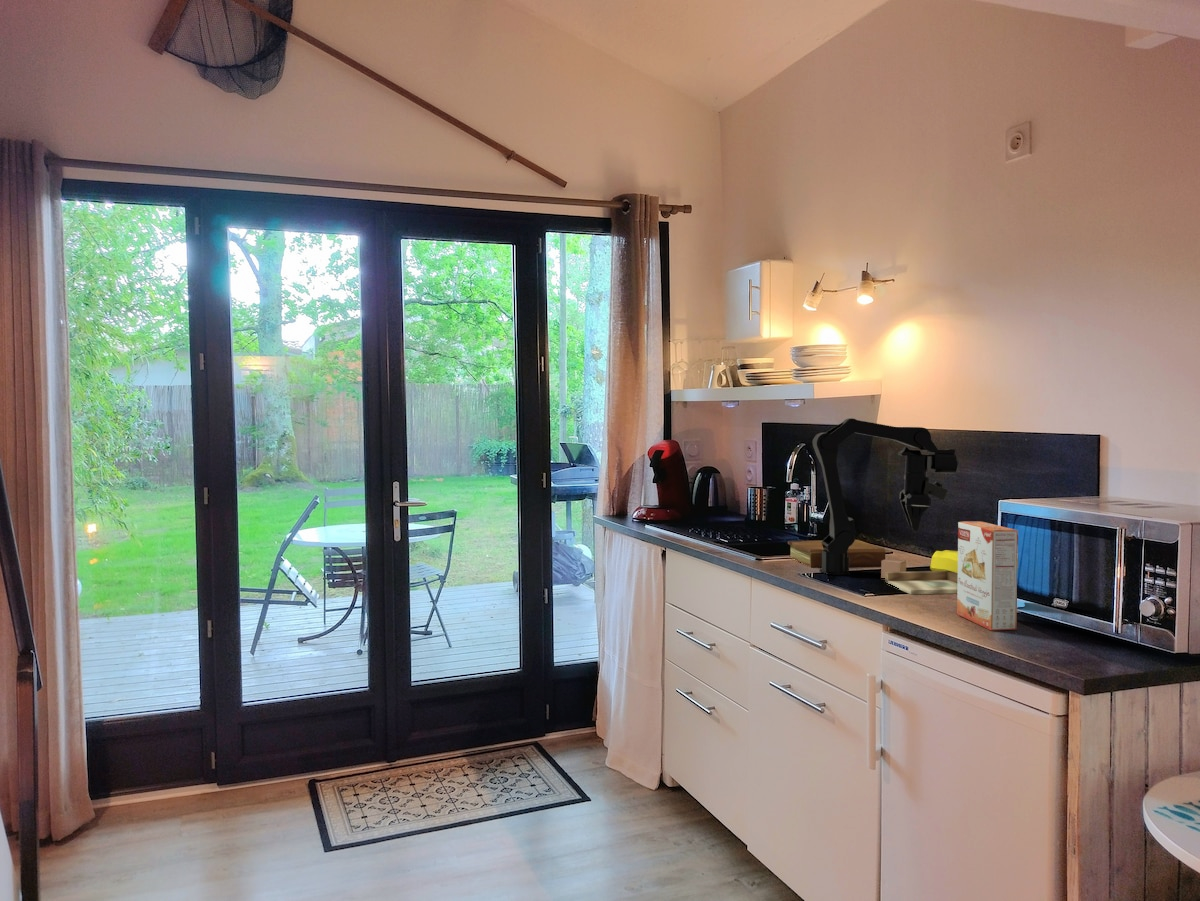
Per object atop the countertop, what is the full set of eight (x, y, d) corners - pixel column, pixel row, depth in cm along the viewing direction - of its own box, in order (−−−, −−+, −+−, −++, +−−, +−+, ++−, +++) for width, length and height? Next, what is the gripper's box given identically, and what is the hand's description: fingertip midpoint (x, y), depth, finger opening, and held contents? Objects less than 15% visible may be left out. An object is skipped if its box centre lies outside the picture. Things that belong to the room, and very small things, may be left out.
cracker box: (954, 615, 187) (956, 520, 186) (981, 615, 187) (983, 520, 186) (989, 631, 173) (991, 529, 172) (1017, 631, 173) (1019, 528, 172)
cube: (899, 581, 226) (899, 562, 226) (881, 579, 229) (881, 560, 229) (905, 578, 230) (906, 560, 230) (887, 576, 233) (887, 558, 233)
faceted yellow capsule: (943, 569, 245) (922, 571, 242) (943, 546, 245) (922, 548, 242) (993, 580, 228) (972, 582, 225) (994, 556, 228) (972, 557, 225)
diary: (810, 570, 246) (810, 550, 246) (787, 559, 265) (787, 541, 264) (885, 567, 249) (885, 548, 249) (857, 557, 268) (857, 539, 268)
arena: (910, 594, 209) (911, 582, 209) (885, 583, 223) (885, 572, 223) (979, 592, 211) (979, 580, 211) (949, 582, 225) (949, 570, 225)
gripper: (952, 475, 224) (949, 534, 224) (941, 471, 242) (939, 526, 243) (908, 473, 226) (905, 531, 227) (900, 470, 245) (898, 523, 245)
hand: (913, 528), depth 235 cm, fingers open, 9 cm apart
